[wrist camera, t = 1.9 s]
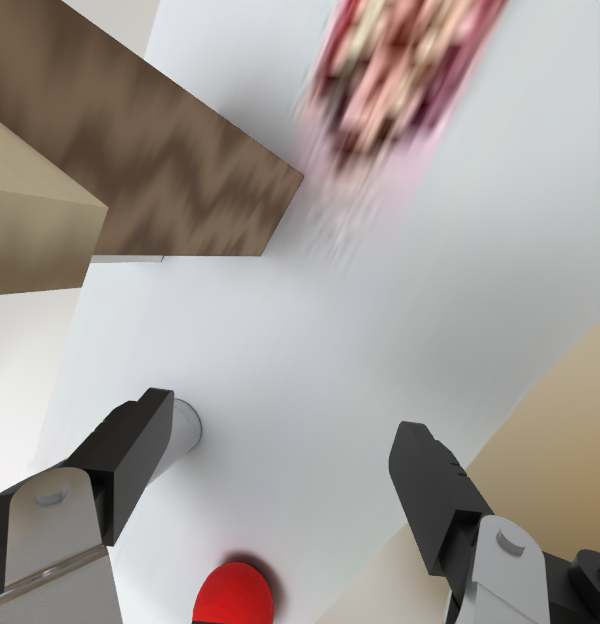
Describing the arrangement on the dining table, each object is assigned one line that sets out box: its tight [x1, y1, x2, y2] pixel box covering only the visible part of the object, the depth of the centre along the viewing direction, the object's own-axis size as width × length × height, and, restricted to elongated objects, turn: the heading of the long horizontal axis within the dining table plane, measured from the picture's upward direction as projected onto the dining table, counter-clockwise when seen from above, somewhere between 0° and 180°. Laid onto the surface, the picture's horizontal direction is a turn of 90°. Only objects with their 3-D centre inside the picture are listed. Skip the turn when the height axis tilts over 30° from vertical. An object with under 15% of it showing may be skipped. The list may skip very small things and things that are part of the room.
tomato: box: [192, 562, 274, 624], centre depth 50 cm, size 14×13×10 cm
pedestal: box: [0, 0, 304, 256], centre depth 27 cm, size 12×16×35 cm
